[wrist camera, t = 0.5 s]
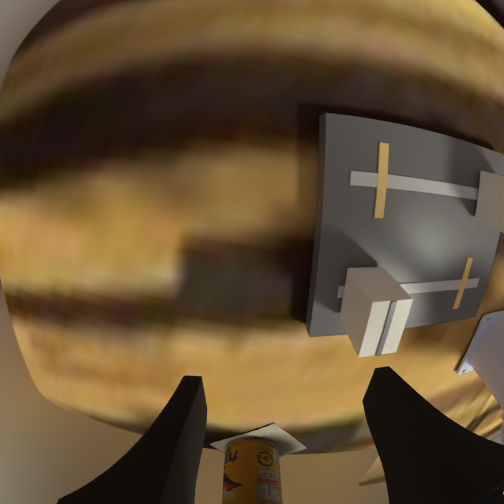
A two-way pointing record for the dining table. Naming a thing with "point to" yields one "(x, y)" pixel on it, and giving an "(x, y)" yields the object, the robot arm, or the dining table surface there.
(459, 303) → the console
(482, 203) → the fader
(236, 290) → the dining table surface
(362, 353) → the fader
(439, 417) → the robot arm
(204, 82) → the dining table surface
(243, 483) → the condiment
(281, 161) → the dining table surface
